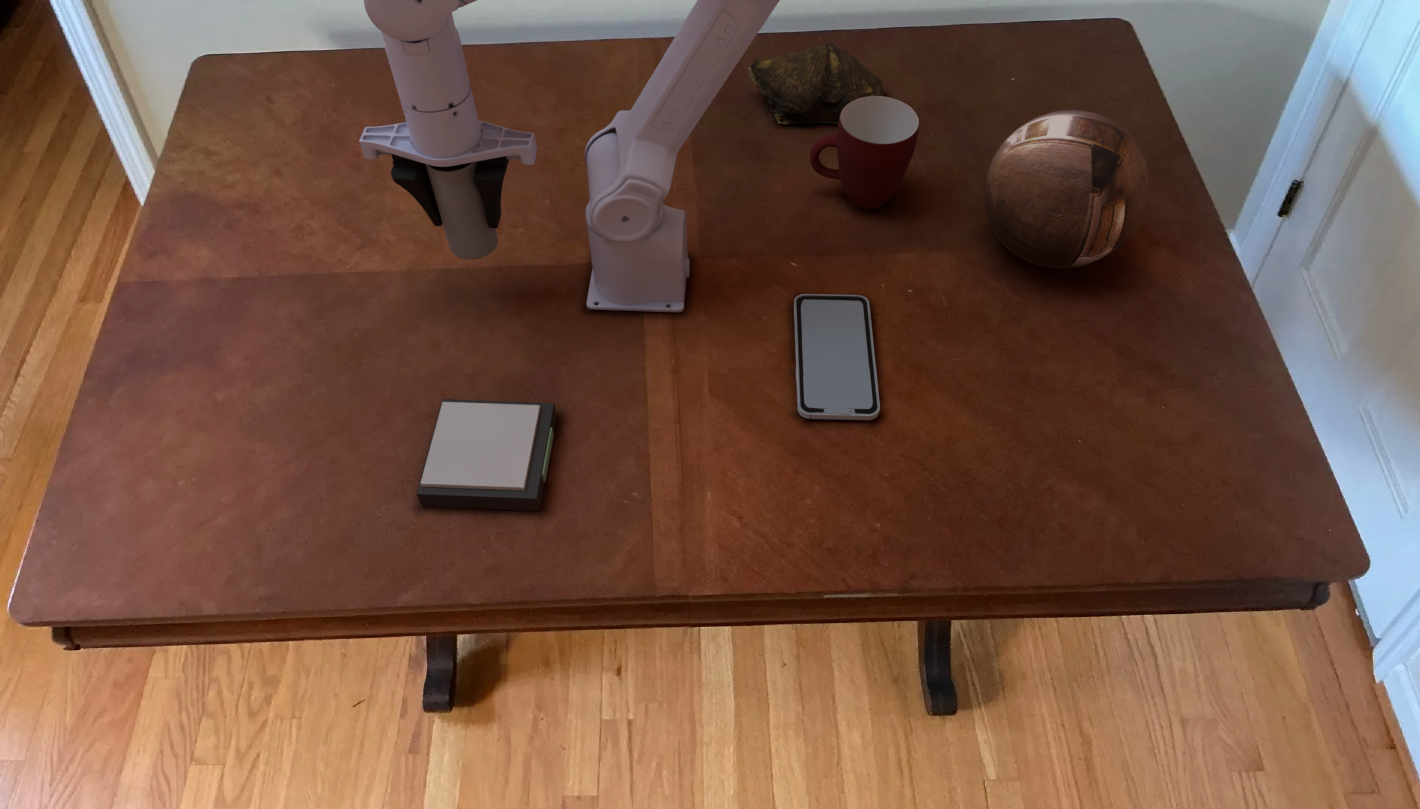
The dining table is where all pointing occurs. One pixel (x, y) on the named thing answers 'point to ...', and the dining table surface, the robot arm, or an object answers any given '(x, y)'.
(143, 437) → the dining table surface
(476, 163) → the gray cylinder
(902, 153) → the mug
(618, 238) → the robot arm
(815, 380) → the smartphone
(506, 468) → the scale
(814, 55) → the seashell
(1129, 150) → the shiny copper ball
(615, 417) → the dining table surface
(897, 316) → the dining table surface
